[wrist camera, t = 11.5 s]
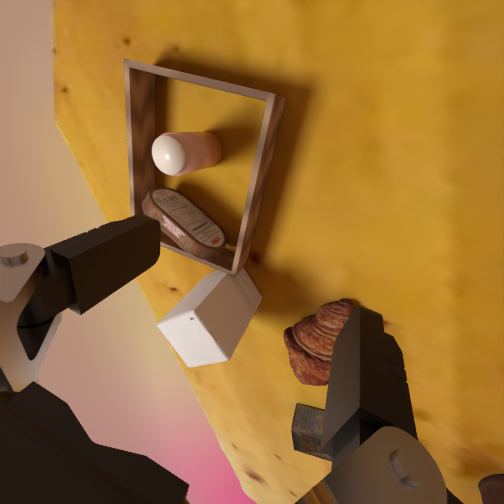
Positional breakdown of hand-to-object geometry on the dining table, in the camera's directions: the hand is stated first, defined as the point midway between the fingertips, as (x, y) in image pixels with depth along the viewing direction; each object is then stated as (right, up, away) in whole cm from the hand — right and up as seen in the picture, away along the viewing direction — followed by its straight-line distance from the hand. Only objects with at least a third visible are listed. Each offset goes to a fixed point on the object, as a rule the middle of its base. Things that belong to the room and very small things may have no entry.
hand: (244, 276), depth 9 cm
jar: (-6, +17, +28) cm, 34 cm away
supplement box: (-3, -6, +38) cm, 39 cm away
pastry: (+14, -15, +36) cm, 42 cm away
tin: (-9, +8, +34) cm, 36 cm away
